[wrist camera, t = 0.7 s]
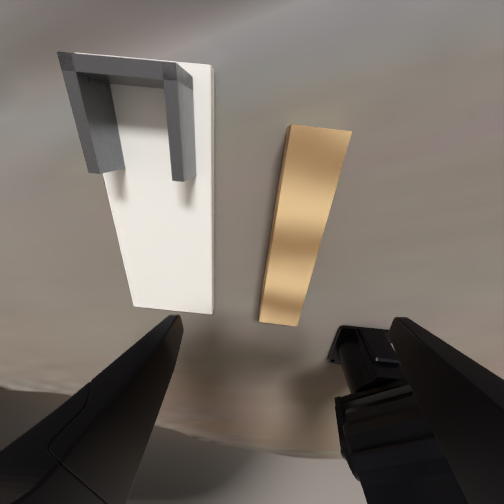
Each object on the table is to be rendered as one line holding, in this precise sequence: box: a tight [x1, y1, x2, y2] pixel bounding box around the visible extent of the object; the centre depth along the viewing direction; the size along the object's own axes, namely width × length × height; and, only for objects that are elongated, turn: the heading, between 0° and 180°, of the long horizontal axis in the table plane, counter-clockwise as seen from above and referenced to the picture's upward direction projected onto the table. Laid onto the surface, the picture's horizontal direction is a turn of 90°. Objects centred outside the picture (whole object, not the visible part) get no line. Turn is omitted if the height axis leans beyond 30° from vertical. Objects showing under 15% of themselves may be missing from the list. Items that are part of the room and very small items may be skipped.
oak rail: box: [259, 124, 352, 326], centre depth 20 cm, size 18×4×3 cm, turn 174°
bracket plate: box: [57, 52, 214, 314], centre depth 18 cm, size 22×9×4 cm, turn 175°
